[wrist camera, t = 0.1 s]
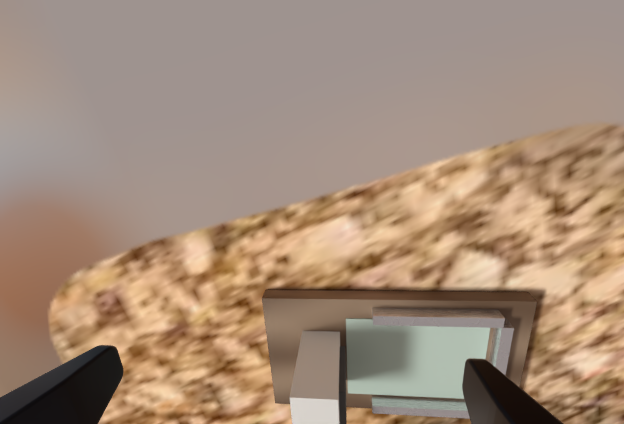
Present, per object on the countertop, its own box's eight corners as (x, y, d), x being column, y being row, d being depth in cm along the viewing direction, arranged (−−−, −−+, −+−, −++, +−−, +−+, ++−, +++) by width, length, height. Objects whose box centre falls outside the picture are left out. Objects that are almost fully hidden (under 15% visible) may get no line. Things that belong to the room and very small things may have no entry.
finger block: (346, 380, 26) (346, 457, 20) (306, 378, 26) (295, 453, 21) (345, 331, 24) (344, 400, 19) (302, 330, 25) (289, 397, 19)
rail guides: (491, 408, 25) (497, 419, 24) (371, 402, 26) (372, 413, 25) (508, 309, 22) (515, 318, 21) (372, 307, 23) (373, 316, 22)
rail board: (506, 402, 26) (514, 416, 25) (278, 391, 29) (275, 404, 27) (527, 292, 23) (538, 302, 22) (265, 289, 25) (261, 299, 24)
